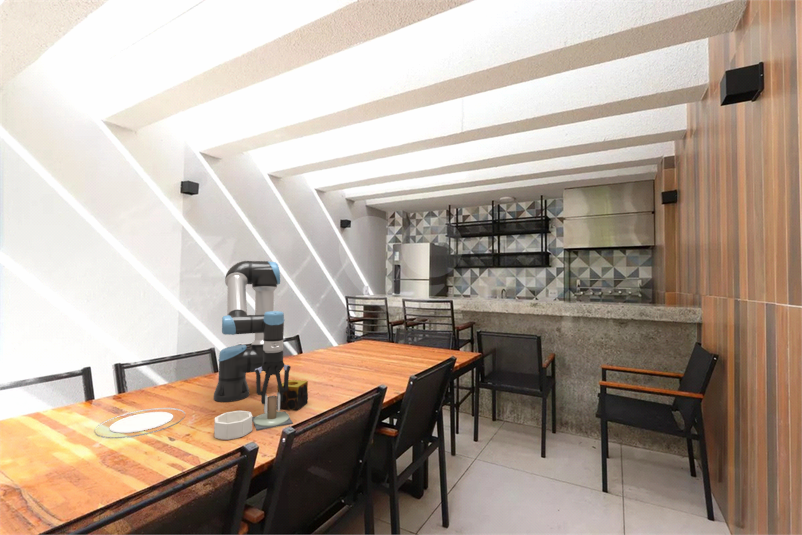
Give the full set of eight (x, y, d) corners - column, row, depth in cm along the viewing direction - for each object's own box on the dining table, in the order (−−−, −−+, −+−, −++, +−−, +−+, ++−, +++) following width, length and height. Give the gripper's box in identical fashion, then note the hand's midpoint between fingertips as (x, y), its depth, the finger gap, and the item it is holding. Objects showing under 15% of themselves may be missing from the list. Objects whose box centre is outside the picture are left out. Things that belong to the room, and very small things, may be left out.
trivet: (251, 418, 140) (251, 417, 140) (285, 412, 147) (285, 411, 147) (256, 430, 129) (256, 429, 129) (292, 423, 136) (292, 422, 136)
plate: (101, 446, 116) (101, 444, 116) (89, 423, 135) (89, 421, 135) (195, 422, 137) (195, 420, 137) (173, 404, 156) (173, 403, 156)
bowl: (213, 429, 130) (214, 414, 130) (249, 423, 136) (249, 408, 136) (215, 442, 119) (215, 426, 119) (253, 435, 125) (253, 419, 125)
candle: (297, 411, 149) (297, 387, 149) (275, 409, 151) (276, 385, 151) (308, 403, 159) (308, 380, 159) (287, 401, 161) (288, 379, 161)
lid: (251, 417, 140) (252, 394, 141) (285, 411, 147) (285, 390, 147) (256, 429, 129) (257, 405, 129) (292, 422, 136) (293, 399, 136)
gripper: (251, 354, 131) (249, 418, 131) (297, 350, 140) (296, 410, 139) (248, 351, 138) (247, 411, 137) (293, 347, 146) (292, 404, 146)
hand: (271, 410), depth 138 cm, fingers open, 4 cm apart
